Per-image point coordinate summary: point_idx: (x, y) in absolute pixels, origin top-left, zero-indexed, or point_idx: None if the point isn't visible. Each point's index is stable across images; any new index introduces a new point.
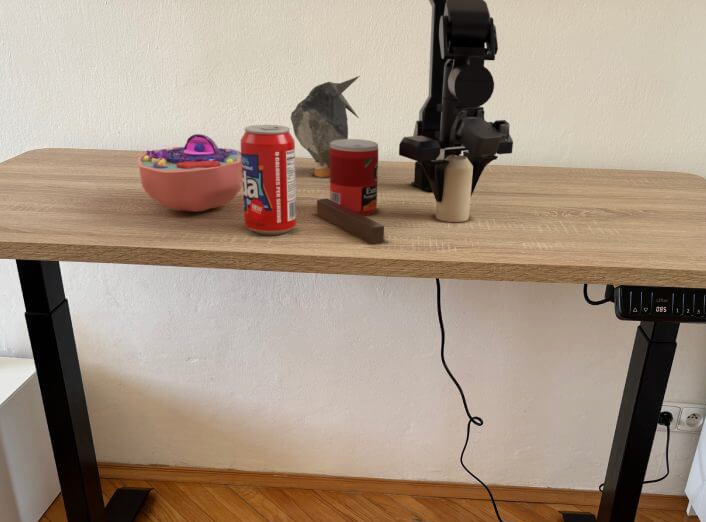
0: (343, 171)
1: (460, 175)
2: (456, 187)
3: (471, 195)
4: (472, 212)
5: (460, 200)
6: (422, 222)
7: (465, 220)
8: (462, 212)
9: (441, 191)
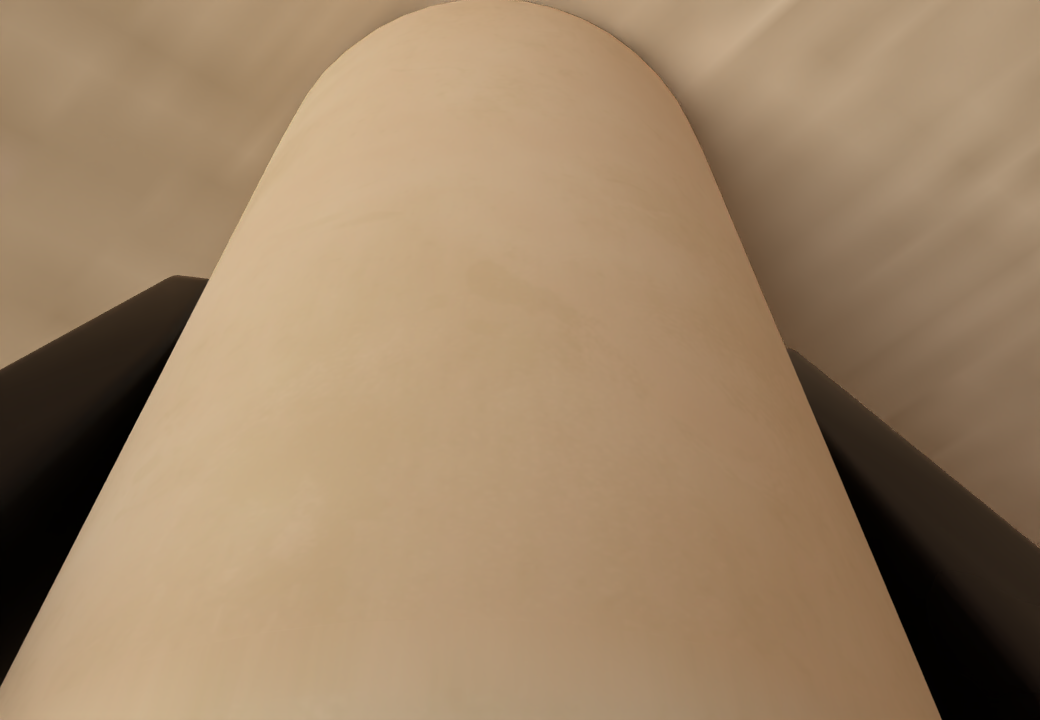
0: None
1: (740, 521)
2: (740, 323)
3: (150, 290)
4: (85, 261)
5: (596, 137)
6: (914, 257)
7: (444, 4)
8: (530, 37)
9: (863, 437)
